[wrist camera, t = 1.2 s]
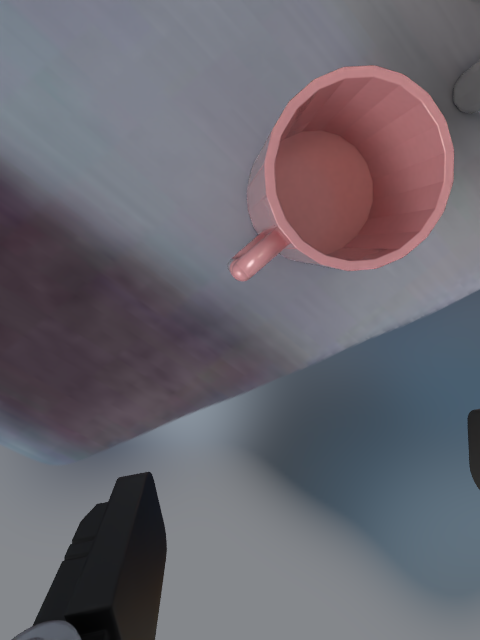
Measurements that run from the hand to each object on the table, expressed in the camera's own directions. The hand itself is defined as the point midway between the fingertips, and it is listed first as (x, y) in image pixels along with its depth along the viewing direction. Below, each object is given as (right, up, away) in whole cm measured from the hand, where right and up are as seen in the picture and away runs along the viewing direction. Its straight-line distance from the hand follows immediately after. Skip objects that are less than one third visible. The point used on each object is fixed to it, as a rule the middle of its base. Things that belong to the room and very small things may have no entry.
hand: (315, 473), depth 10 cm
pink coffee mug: (+3, +13, +24) cm, 27 cm away
